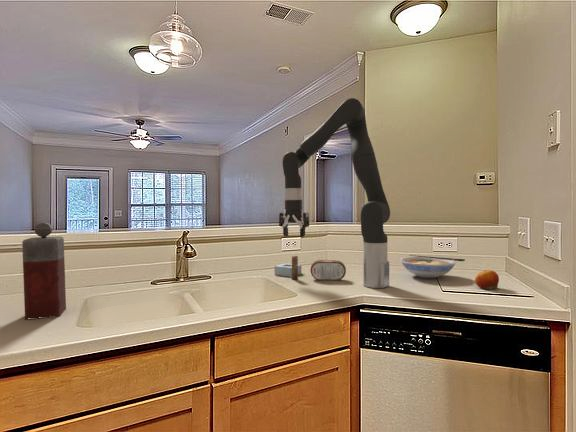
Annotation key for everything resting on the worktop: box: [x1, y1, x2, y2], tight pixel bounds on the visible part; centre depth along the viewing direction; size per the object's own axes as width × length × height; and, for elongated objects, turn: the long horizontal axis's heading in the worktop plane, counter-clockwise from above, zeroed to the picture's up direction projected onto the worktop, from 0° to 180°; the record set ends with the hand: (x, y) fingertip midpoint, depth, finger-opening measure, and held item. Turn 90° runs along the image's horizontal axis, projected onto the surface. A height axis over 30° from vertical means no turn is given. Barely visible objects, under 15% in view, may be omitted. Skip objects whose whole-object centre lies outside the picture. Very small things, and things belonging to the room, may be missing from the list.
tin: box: [310, 259, 347, 282], centre depth 157 cm, size 15×3×8 cm, turn 84°
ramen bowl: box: [400, 254, 466, 279], centre depth 161 cm, size 25×23×8 cm
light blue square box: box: [273, 263, 303, 278], centre depth 171 cm, size 9×9×4 cm
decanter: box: [21, 222, 67, 320], centre depth 113 cm, size 9×11×28 cm
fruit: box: [474, 269, 500, 290], centre depth 139 cm, size 8×8×8 cm
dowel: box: [291, 255, 299, 281], centre depth 159 cm, size 3×3×10 cm
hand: (294, 236), depth 159 cm, fingers open, 8 cm apart
